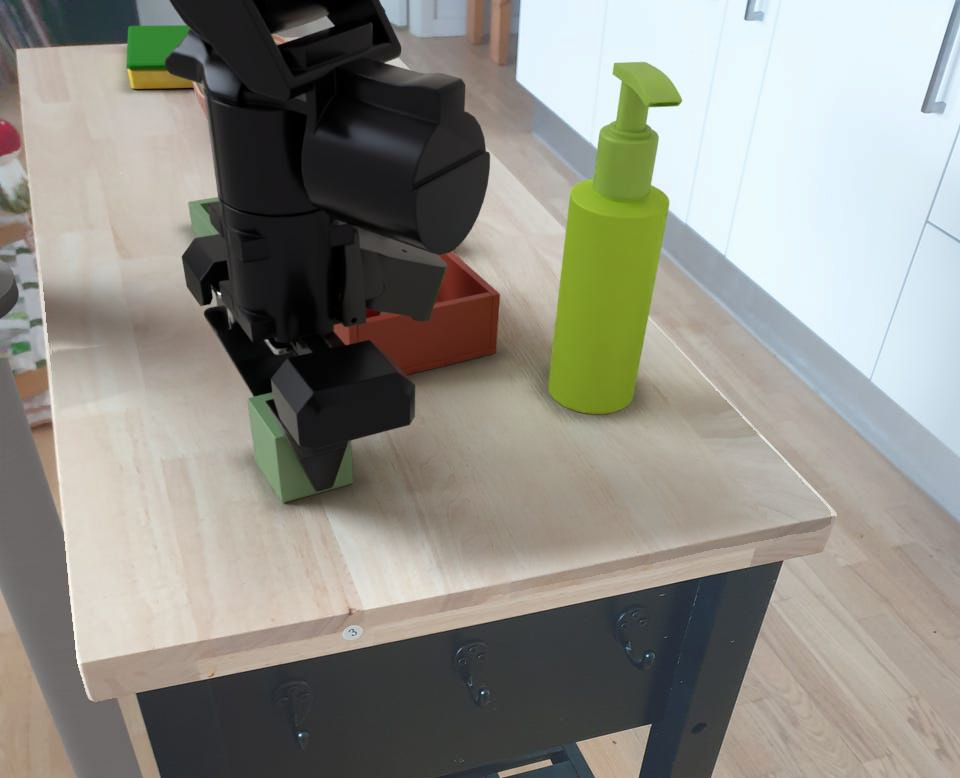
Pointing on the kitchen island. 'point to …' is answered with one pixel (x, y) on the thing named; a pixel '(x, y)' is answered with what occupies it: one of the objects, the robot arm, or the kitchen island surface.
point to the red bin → (438, 324)
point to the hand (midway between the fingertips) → (302, 458)
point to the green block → (284, 455)
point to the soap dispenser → (612, 254)
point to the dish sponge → (153, 56)
